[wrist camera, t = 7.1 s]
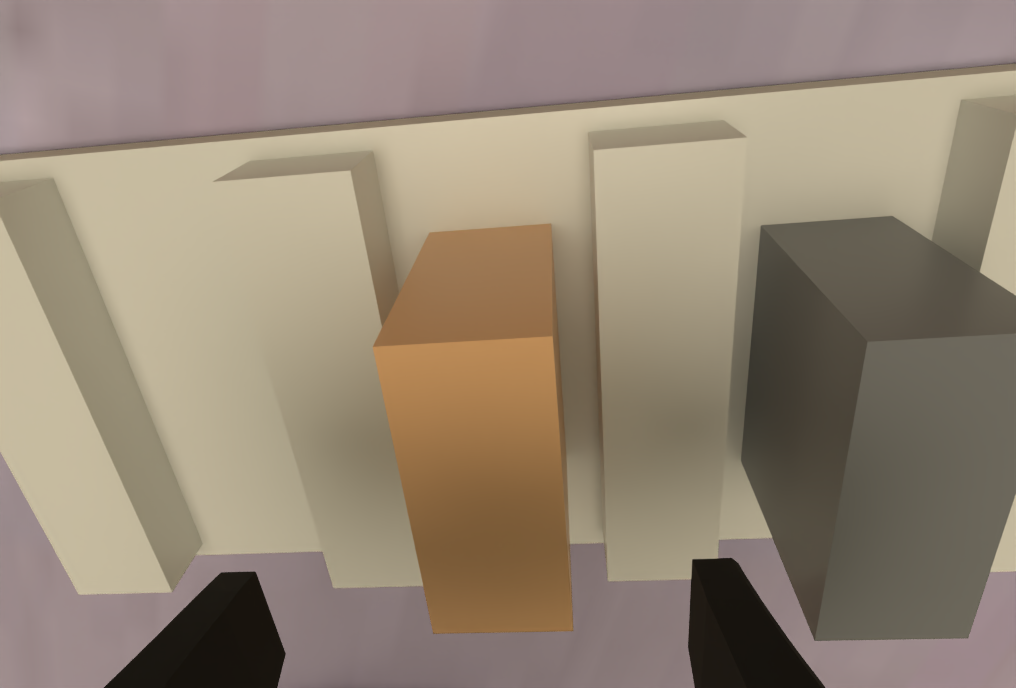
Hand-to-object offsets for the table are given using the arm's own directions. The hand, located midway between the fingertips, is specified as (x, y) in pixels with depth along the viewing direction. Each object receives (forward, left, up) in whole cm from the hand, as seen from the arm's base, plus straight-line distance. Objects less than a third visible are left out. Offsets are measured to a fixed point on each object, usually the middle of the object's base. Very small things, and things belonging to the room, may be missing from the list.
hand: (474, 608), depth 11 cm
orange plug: (+1, 0, -8) cm, 8 cm away
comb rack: (0, 0, -9) cm, 9 cm away
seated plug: (0, -8, -8) cm, 11 cm away
